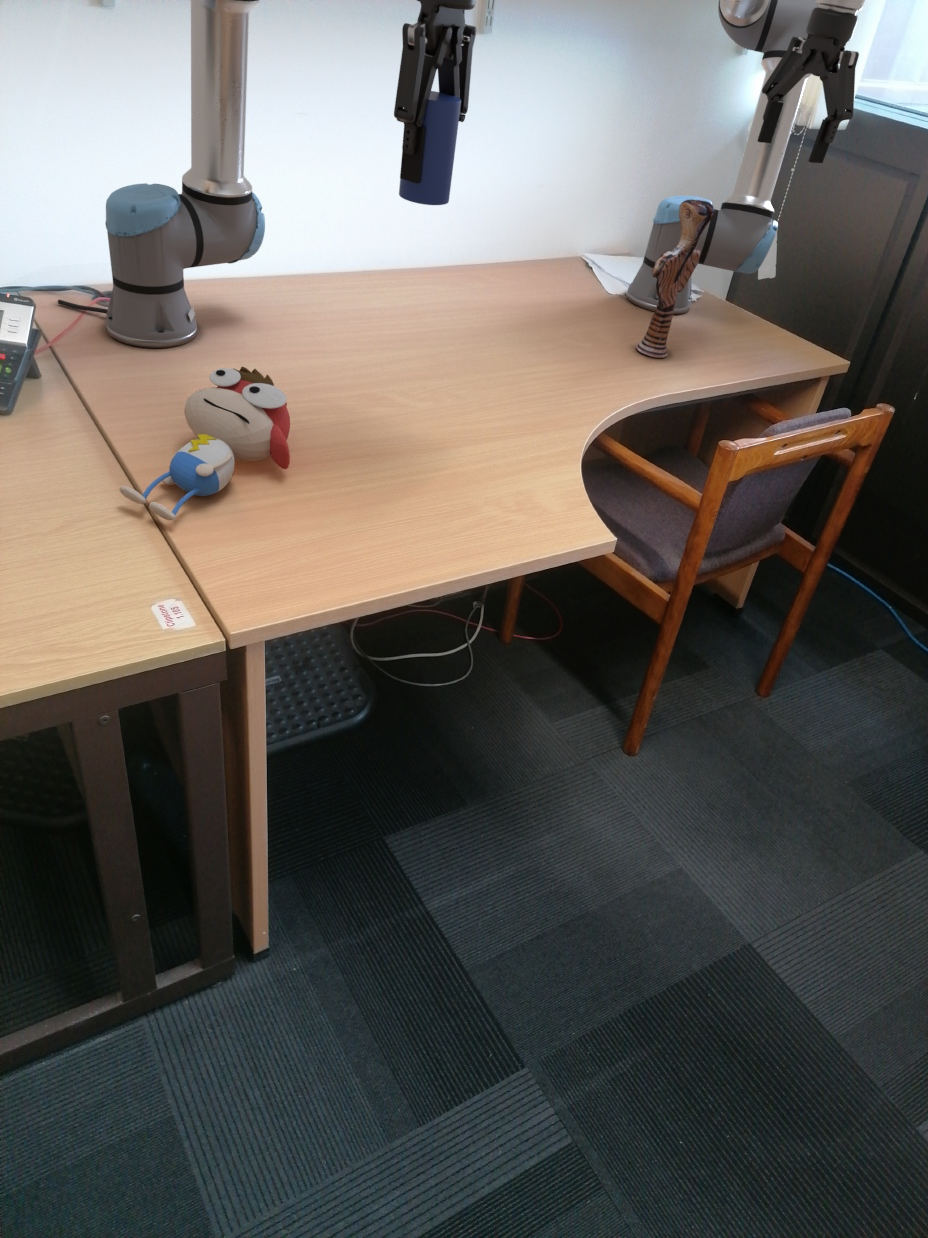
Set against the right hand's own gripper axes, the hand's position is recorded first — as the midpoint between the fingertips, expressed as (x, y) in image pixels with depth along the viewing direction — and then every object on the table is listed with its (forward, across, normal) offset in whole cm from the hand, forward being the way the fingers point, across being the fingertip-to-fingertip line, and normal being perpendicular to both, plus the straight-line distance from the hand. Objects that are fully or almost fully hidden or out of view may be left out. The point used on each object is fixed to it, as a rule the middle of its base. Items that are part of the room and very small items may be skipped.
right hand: (788, 151), depth 158 cm
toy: (+41, +20, -108) cm, 117 cm away
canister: (+5, +14, -77) cm, 79 cm away
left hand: (+3, +14, -77) cm, 79 cm away
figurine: (+41, -9, -10) cm, 43 cm away
